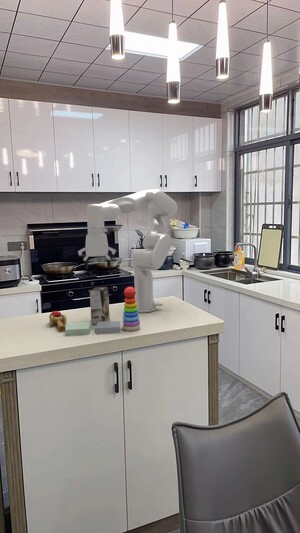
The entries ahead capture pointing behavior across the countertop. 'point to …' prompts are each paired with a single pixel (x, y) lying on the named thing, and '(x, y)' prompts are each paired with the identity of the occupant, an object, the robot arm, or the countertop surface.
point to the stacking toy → (130, 311)
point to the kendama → (58, 320)
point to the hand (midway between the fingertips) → (97, 268)
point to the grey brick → (108, 327)
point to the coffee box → (99, 305)
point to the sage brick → (78, 329)
